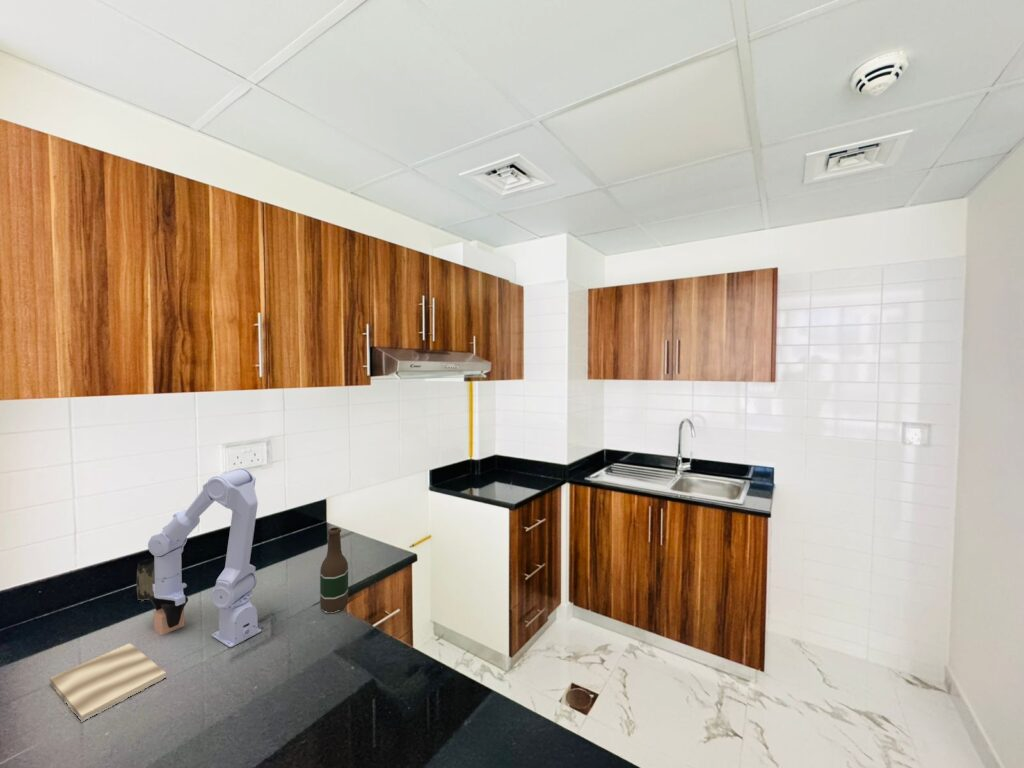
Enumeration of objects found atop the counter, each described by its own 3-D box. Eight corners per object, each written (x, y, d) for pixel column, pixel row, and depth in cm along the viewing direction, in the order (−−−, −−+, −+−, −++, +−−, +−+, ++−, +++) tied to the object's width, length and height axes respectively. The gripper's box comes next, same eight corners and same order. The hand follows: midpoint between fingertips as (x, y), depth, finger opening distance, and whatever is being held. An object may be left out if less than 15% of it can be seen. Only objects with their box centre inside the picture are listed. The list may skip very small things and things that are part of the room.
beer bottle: (320, 616, 121) (319, 535, 120) (320, 602, 128) (320, 526, 128) (348, 611, 124) (348, 531, 124) (347, 597, 132) (347, 522, 131)
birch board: (165, 678, 97) (165, 672, 97) (81, 722, 84) (81, 715, 84) (130, 648, 106) (129, 643, 106) (50, 684, 94) (49, 677, 94)
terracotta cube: (184, 625, 116) (183, 608, 116) (162, 635, 112) (161, 617, 112) (175, 620, 119) (175, 602, 119) (153, 629, 114) (153, 611, 114)
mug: (143, 603, 127) (142, 564, 126) (132, 599, 129) (132, 560, 128) (172, 590, 134) (172, 553, 134) (162, 586, 136) (161, 550, 136)
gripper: (198, 574, 115) (198, 623, 115) (173, 562, 122) (174, 607, 122) (166, 586, 108) (167, 637, 109) (142, 572, 116) (143, 620, 116)
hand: (169, 622), depth 115 cm, fingers closed on terracotta cube, 5 cm apart
